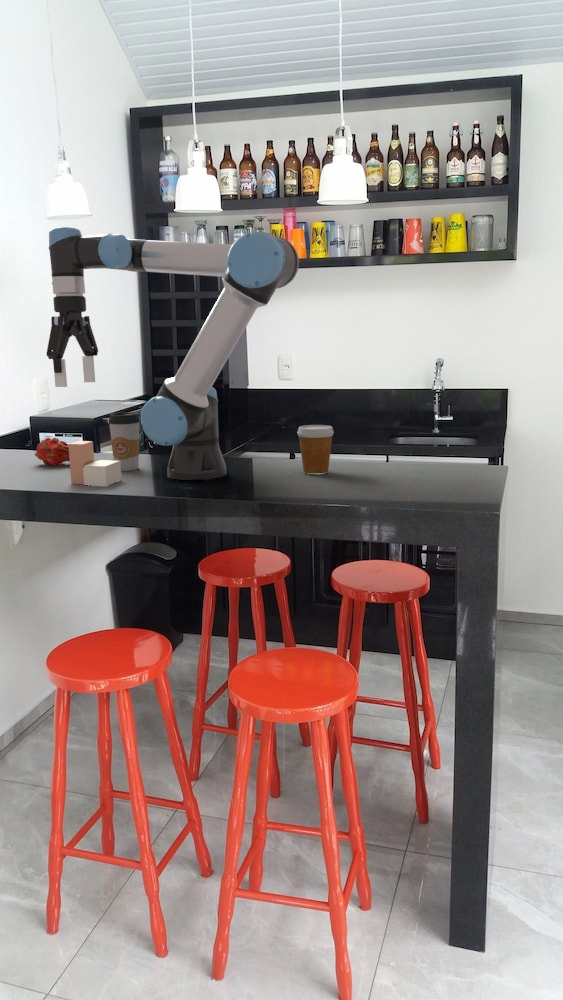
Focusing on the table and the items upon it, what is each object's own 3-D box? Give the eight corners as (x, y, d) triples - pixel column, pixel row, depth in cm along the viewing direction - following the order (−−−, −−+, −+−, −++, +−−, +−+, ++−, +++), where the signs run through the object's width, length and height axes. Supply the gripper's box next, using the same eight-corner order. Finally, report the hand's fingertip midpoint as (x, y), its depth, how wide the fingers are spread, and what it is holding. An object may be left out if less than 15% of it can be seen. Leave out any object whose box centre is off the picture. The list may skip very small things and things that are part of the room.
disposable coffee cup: (298, 469, 220) (298, 424, 218) (334, 469, 219) (334, 424, 217) (296, 476, 211) (295, 429, 209) (333, 476, 210) (333, 429, 208)
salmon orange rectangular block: (95, 480, 211) (92, 441, 209) (85, 484, 206) (82, 444, 204) (81, 479, 212) (78, 440, 210) (71, 483, 207) (68, 443, 205)
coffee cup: (106, 471, 223) (102, 415, 220) (118, 465, 231) (114, 412, 228) (136, 471, 221) (133, 415, 218) (146, 466, 229) (143, 412, 226)
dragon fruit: (38, 468, 238) (73, 477, 234) (23, 455, 230) (59, 463, 226) (49, 442, 240) (85, 450, 237) (35, 428, 233) (71, 436, 229)
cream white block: (121, 480, 210) (120, 460, 209) (106, 486, 203) (104, 466, 202) (100, 479, 212) (98, 459, 211) (84, 485, 204) (82, 465, 203)
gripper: (81, 296, 212) (87, 380, 216) (26, 294, 188) (34, 388, 193) (108, 295, 210) (113, 380, 214) (55, 294, 186) (62, 389, 191)
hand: (75, 384), depth 204 cm, fingers open, 13 cm apart
